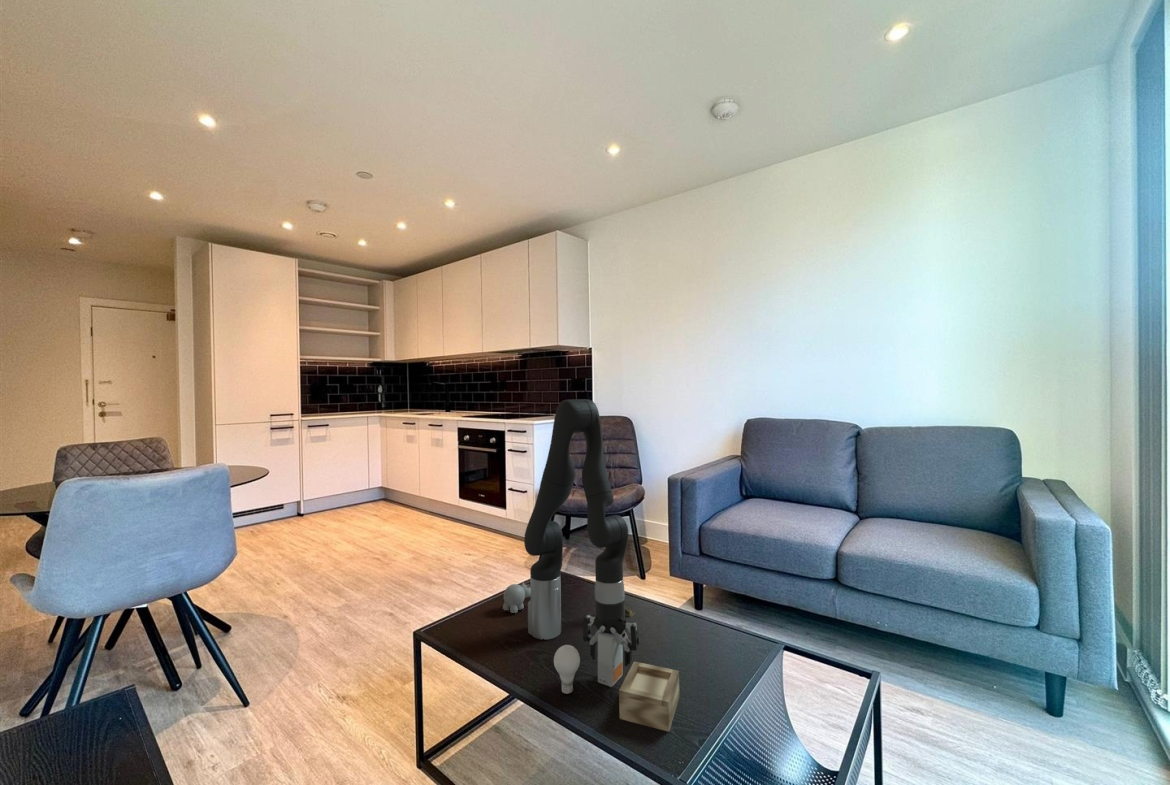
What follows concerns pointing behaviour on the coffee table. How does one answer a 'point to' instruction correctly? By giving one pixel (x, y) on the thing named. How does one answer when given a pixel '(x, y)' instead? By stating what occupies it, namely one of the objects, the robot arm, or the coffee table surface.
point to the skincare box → (609, 659)
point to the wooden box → (649, 696)
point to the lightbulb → (567, 666)
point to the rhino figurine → (516, 597)
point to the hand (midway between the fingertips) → (611, 661)
